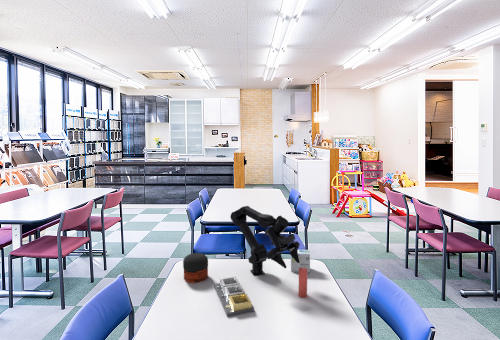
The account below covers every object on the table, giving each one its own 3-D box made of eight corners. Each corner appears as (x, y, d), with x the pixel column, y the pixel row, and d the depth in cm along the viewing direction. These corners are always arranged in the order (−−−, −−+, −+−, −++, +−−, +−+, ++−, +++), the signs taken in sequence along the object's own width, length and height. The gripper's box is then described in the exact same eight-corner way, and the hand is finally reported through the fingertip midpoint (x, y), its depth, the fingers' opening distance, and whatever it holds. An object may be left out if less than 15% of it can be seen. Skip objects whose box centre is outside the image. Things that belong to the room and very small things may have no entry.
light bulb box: (309, 267, 177) (309, 249, 176) (310, 272, 170) (310, 253, 169) (290, 267, 178) (290, 248, 177) (290, 272, 171) (290, 253, 170)
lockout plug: (296, 295, 146) (297, 268, 144) (302, 292, 148) (302, 266, 147) (303, 298, 143) (303, 271, 141) (308, 295, 145) (309, 269, 144)
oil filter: (192, 270, 173) (178, 280, 161) (191, 249, 172) (178, 257, 160) (212, 274, 168) (200, 284, 156) (212, 252, 167) (199, 261, 155)
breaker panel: (214, 286, 154) (213, 279, 154) (237, 283, 158) (237, 275, 157) (227, 316, 129) (226, 307, 128) (254, 311, 132) (254, 302, 132)
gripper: (271, 232, 146) (288, 262, 138) (297, 225, 158) (314, 252, 150) (259, 244, 153) (275, 273, 145) (286, 236, 164) (301, 263, 157)
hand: (292, 265), depth 149 cm, fingers open, 9 cm apart
